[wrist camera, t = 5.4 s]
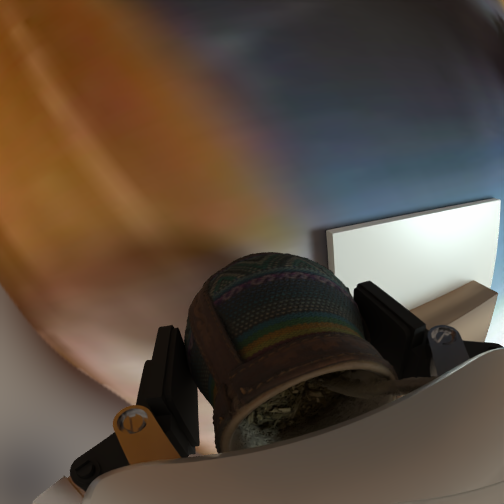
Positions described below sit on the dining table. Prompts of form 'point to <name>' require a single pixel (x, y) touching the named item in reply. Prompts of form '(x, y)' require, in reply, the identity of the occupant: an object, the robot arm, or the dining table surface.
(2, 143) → the dining table surface
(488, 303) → the walnut plinth
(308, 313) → the mate gourd
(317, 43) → the dining table surface
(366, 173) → the dining table surface
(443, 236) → the board
